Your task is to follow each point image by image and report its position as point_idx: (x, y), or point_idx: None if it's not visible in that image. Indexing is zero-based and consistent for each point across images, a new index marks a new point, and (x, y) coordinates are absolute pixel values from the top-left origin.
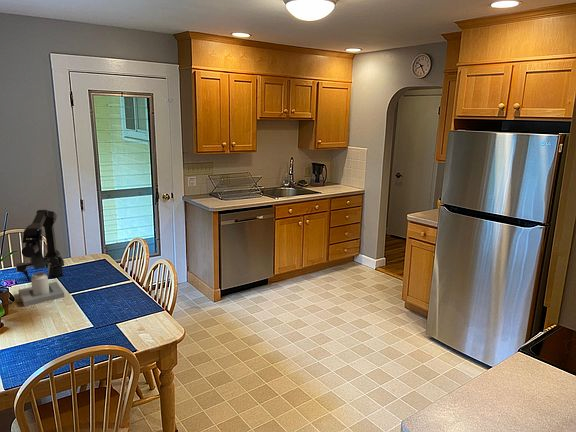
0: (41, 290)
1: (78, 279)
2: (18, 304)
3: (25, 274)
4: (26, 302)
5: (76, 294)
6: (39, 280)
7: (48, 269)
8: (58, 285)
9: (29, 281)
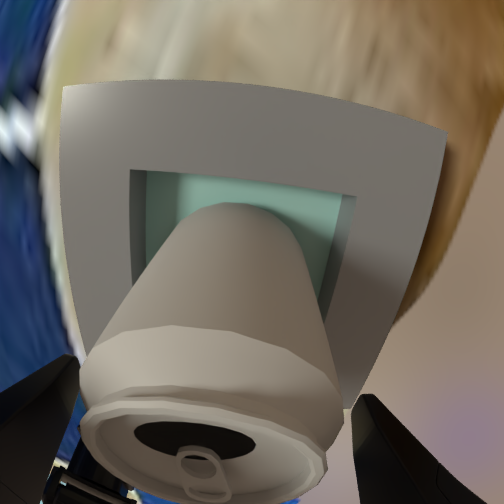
0: (242, 224)
1: (8, 342)
2: (435, 213)
3: (466, 496)
4: (425, 124)
5: (19, 95)
6: (242, 317)
7: (27, 473)
8: (76, 302)
9: (368, 394)
